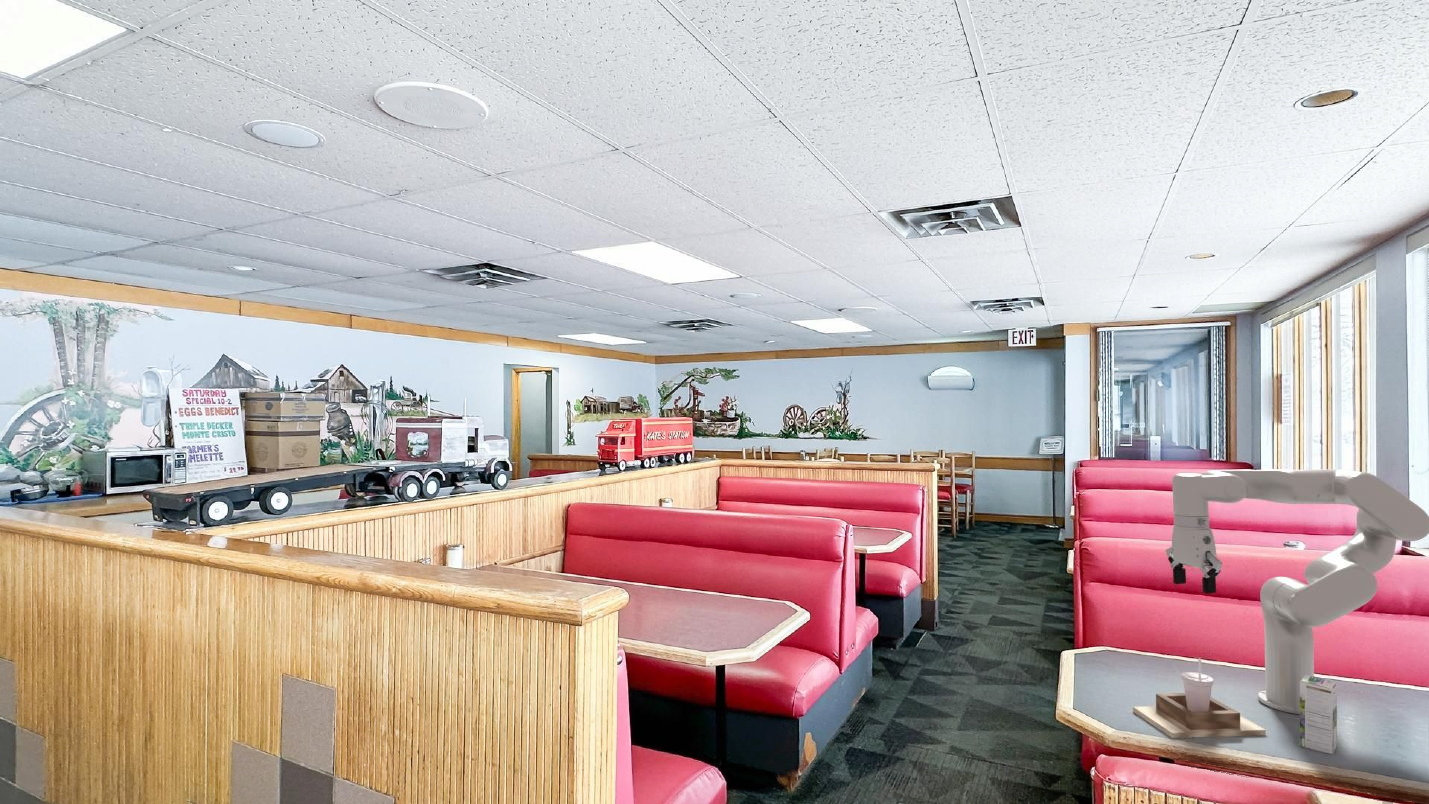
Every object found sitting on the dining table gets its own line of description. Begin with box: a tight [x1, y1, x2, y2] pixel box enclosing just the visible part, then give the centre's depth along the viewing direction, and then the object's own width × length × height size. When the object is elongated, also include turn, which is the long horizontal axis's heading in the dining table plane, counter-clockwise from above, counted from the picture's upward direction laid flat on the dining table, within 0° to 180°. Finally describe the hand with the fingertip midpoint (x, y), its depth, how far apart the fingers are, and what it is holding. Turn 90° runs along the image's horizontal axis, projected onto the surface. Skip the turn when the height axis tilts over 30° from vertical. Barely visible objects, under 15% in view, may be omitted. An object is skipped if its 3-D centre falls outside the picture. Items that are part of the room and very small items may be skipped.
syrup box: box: [1299, 675, 1338, 755], centre depth 156 cm, size 6×6×14 cm
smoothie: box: [1180, 657, 1214, 712], centre depth 169 cm, size 6×6×14 cm
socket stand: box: [1132, 692, 1267, 739], centre depth 168 cm, size 22×14×5 cm, turn 93°
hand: (1194, 588), depth 183 cm, fingers open, 9 cm apart
